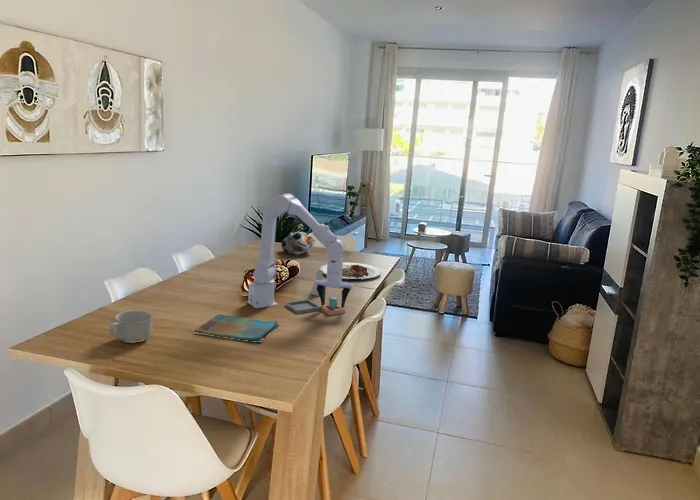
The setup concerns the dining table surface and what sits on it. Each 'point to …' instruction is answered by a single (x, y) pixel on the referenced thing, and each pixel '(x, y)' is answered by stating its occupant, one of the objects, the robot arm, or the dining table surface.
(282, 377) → the dining table surface
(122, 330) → the teacup
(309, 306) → the tray
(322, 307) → the salmon square dish
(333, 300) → the pin
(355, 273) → the plated food
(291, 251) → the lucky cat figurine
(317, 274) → the flask
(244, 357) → the dining table surface
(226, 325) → the dish towel
